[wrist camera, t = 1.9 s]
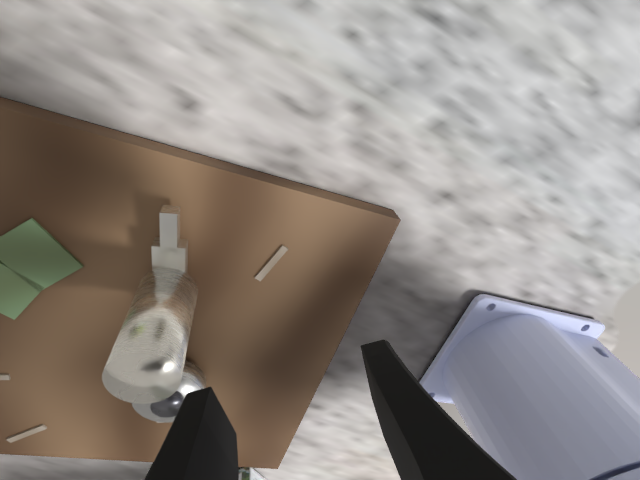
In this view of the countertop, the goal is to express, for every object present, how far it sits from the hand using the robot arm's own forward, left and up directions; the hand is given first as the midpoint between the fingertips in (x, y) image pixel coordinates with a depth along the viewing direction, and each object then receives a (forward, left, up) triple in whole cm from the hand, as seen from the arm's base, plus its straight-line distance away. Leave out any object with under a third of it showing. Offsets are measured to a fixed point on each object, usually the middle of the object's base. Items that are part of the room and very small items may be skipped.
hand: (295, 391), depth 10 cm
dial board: (+3, +6, -8) cm, 11 cm away
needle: (+3, +5, -7) cm, 9 cm away
